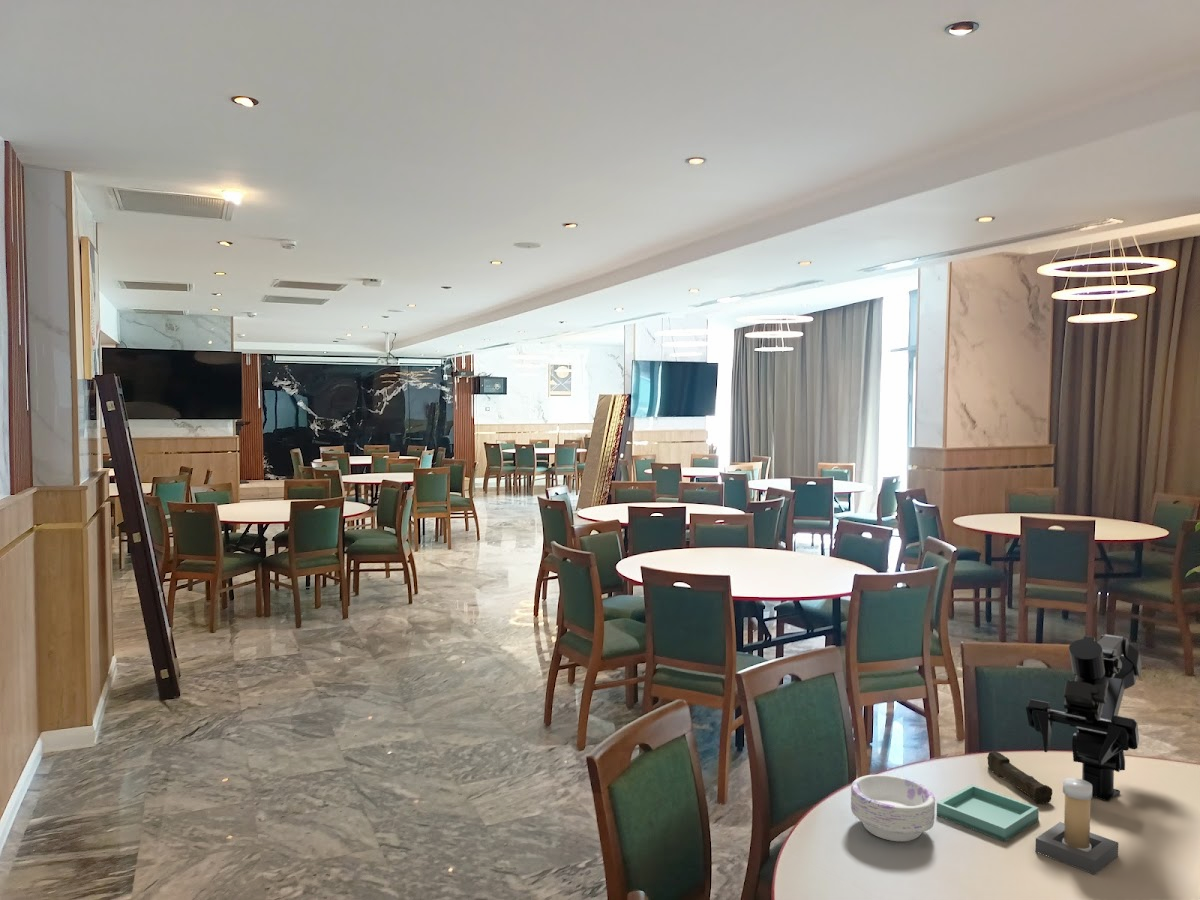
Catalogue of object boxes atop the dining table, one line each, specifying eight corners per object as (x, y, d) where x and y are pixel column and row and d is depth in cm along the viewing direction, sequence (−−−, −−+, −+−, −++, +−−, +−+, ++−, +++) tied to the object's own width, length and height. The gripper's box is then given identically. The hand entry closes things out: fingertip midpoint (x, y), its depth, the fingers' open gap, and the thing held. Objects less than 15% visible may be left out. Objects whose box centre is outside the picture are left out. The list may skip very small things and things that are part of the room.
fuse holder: (1059, 834, 159) (1060, 821, 159) (1118, 856, 151) (1118, 842, 151) (1035, 851, 152) (1035, 838, 152) (1094, 874, 145) (1095, 860, 145)
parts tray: (971, 796, 175) (971, 784, 175) (1038, 820, 164) (1038, 807, 164) (936, 815, 167) (936, 802, 167) (1004, 841, 156) (1005, 828, 156)
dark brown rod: (1053, 805, 171) (1054, 782, 171) (1035, 806, 171) (1035, 783, 171) (1000, 767, 190) (1000, 747, 190) (983, 768, 190) (983, 748, 190)
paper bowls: (950, 833, 159) (950, 792, 159) (904, 859, 150) (905, 815, 150) (880, 804, 172) (881, 766, 171) (834, 826, 162) (834, 786, 162)
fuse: (1068, 844, 155) (1069, 775, 154) (1095, 855, 151) (1096, 784, 151) (1057, 852, 152) (1058, 782, 152) (1084, 863, 148) (1085, 791, 148)
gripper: (1031, 658, 170) (1012, 715, 160) (1139, 676, 158) (1126, 739, 148) (1038, 696, 175) (1020, 755, 165) (1144, 717, 163) (1131, 781, 153)
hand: (1072, 756), depth 158 cm, fingers open, 9 cm apart
